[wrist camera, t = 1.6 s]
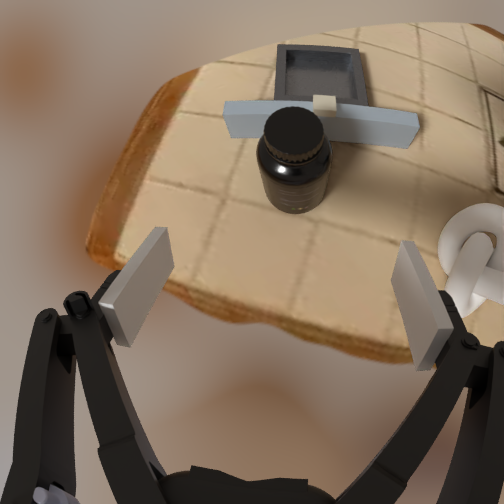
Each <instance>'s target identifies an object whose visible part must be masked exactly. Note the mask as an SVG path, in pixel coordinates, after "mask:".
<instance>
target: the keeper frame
mask: <svg viewBox="0 0 504 504" xmlns="http://www.w3.org/2000/svg"><path fill="white" fill-rule="evenodd" d="M313 95H327V96H335V97H336V103H339V104H350V105H360V106H368V100H367V93H366V87H365V81H364V75H363V69H362V64H361V59H360V54H359V49H353V48H343V47H331V46H316V45H286V44H278V45H277V62H276V77H275V93H274V100H275V101H309V102H313Z"/></svg>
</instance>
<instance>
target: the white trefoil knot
mask: <svg viewBox="0 0 504 504" xmlns="http://www.w3.org/2000/svg"><path fill="white" fill-rule="evenodd" d="M479 232H491V233H493V234H494V235H495V236H496V238H497V244H496V247H495V249H494V248H493V244H492V242H491V239H490V237H489V236H487V235H486V234H485V233H479ZM468 237H470V238H469V239H468V240H467V241H466V242H465V240H466V239H467V238H468ZM464 242H465V244H464V245H463V243H464ZM462 246H463V247H462ZM438 257H439V261H440V264H441V267H442V269H443V270H444V272H445V273H446V274H447V275H448V276H449V277H448V279H447V282H446V285H445V288H444V291H446V292H447V293H448V294H449V295H450V296H451V297H452V299H453V301H454V303H455V306H456V307H457V309H458V312H459V314H460V316H461V318H463V317H466V316H468V315H469V314H471V313H472V312H473V311H474V310H476V309H477V308H478V307H479V306H480V305H481V304H482V303H483V302H484V301H485V300H486V299H490V300H492V301H495V302H497V303H500V304H503V305H504V207H501V206H499V205H496V204H491V203H480V204H475V205H472V206H469V207H467V208H465V209H463V210H461V211H459V212H458V213H457V214H455V215H454V216H453V217H452V218H451V219H450V220H449V221H448V222H447V223H446V225H445V227H444V228H443V230H442V232H441V235H440V237H439V241H438Z"/></svg>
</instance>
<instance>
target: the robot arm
mask: <svg viewBox="0 0 504 504" xmlns="http://www.w3.org/2000/svg"><path fill="white" fill-rule="evenodd" d="M173 268H174V261H173V256H172V251H171V246H170V240H169V234H168V229H167V227H155V228H154V229H153V230H152V232H151V233H150V234H149V235H148V237H147V238H146V239H145V240H144V242H143V243H142V244H141V246H140V247H139V248H138V249H137V251H136V252H135V253H134V255H133V256H132V257H131V258H130V260H129V261H128V262H127V264H126V265H125V266H124V268H123V269H122V270H116V271H114V272H113V273H111V274H110V275H109V276H108V277H107V279H106V280H105V281H104V283H103V284H102V285H101V286H100V288H99V289H98V291H97V292H96V293H95V295H94V296H93V297H92V299H91V300H90V298H89V295H88V293H87V292H85V291H77V292H73V293H71V294H70V295H68V296H67V297H66V299H65V300H64V303H63V305H64V307H65V309H66V311H67V313H68V315H62V316H59V315H58V313H57V311H56V310H55V309H53V308H48V309H45V310H43V311H41V312H40V313H39V314H38V315H37V317H36V319H35V322H34V326H33V330H32V334H31V338H30V342H29V346H28V351H27V355H26V360H25V365H24V370H23V375H22V380H21V386H20V393H19V399H18V407H17V414H16V423H15V433H14V446H13V463H12V466H11V469H10V472H9V475H8V478H7V481H6V484H5V487H4V491H3V494H2V498H1V501H0V504H80V503H79V501H78V500H77V499H76V498H75V494H76V472H75V454H74V391H75V373H76V360H77V362H78V367H79V371H80V376H81V381H82V385H83V389H84V393H85V397H86V401H87V404H88V408H89V411H90V415H91V419H92V422H93V425H94V429H95V432H96V435H97V438H98V441H99V444H100V447H99V448H98V455H99V458H100V461H101V464H102V467H103V470H104V472H105V475H106V477H107V480H108V482H109V485H110V487H111V490H112V492H113V495H114V497H115V499H116V501H117V504H394V503H395V502H396V501H397V499H398V498H399V497H400V495H401V494H402V493H403V491H404V490H405V488H406V486H407V482H408V480H409V479H410V477H411V476H412V474H413V473H414V471H415V470H416V469H417V467H418V466H419V464H420V463H421V461H422V460H423V458H424V457H425V455H426V454H427V452H428V451H429V449H430V447H431V446H432V444H433V443H434V441H435V439H436V438H437V436H438V434H439V433H440V431H441V429H442V428H443V426H444V424H445V422H446V421H447V419H448V417H449V415H450V413H451V411H452V410H453V408H454V406H455V404H456V402H457V400H458V398H459V396H460V394H461V392H462V390H463V388H464V387H468V394H467V399H466V404H465V409H464V414H463V419H462V423H461V427H460V432H459V435H458V439H457V443H456V447H455V450H454V454H453V457H452V460H451V464H450V467H449V470H448V473H447V476H446V479H445V482H444V485H443V487H442V490H441V493H440V495H439V498H438V501H437V503H436V504H498V502H499V498H500V494H501V490H502V486H503V482H504V341H500V342H497V343H496V344H495V346H494V347H493V348H491V347H487V346H483V345H480V342H479V340H478V339H477V337H475V336H474V335H473V334H471V333H468V332H467V330H466V328H465V325H464V323H463V321H462V318H461V316H460V314H459V312H458V309H457V307H456V306H455V303H454V301H453V299H452V297H451V296H450V295H449V294H448V293H447V292H446V291H444V290H437V288H436V285H435V283H434V281H433V279H432V277H431V275H430V273H429V271H428V269H427V266H426V264H425V262H424V260H423V258H422V256H421V254H420V253H419V251H418V249H417V247H416V245H415V243H414V241H404V240H401V244H400V248H399V252H398V256H397V260H396V263H395V267H394V271H393V274H392V278H391V282H392V285H393V289H394V292H395V295H396V298H397V302H398V305H399V308H400V312H401V315H402V319H403V322H404V326H405V330H406V333H407V337H408V341H409V345H410V349H411V353H412V357H413V361H414V365H415V370H416V371H423V370H431V368H432V366H433V365H434V363H436V367H437V370H436V372H435V373H434V375H433V376H432V378H431V380H430V381H429V383H428V385H427V386H426V388H425V390H424V391H423V393H422V394H421V396H420V397H419V399H418V400H417V402H416V403H415V405H414V406H413V408H412V409H411V411H410V412H409V414H408V415H407V416H406V418H405V419H404V421H403V422H402V423H401V425H400V426H399V427H398V429H397V430H396V431H395V433H394V434H393V435H392V437H391V438H390V439H389V440H388V442H387V443H386V444H385V445H384V447H383V448H382V449H381V450H380V452H379V453H378V454H377V455H376V457H375V458H374V459H373V460H372V461H371V462H370V464H369V465H368V466H367V467H366V468H365V469H364V470H363V472H362V473H361V474H360V475H359V476H358V477H357V478H356V479H355V481H354V482H352V484H351V485H350V486H349V487H348V488H347V489H346V490H345V491H344V492H343V493H342V494H341V495H340V496H339V497H338V498H337V499H336V500H335V499H334V498H333V497H332V496H331V495H329V494H328V493H326V492H325V491H323V490H321V489H319V488H317V487H314V486H311V485H308V479H290V478H274V479H267V480H259V481H245V480H242V479H239V478H237V477H234V476H232V475H229V474H226V473H224V472H221V471H219V470H213V469H207V468H203V467H197V466H191V469H190V471H181V472H176V473H173V474H170V475H167V474H166V472H165V471H164V469H163V467H162V466H161V464H160V463H159V461H158V459H157V457H156V455H155V453H154V451H153V449H152V447H151V445H150V443H149V441H148V438H147V436H146V434H145V432H144V430H143V428H142V425H141V423H140V420H139V418H138V416H137V413H136V411H135V409H134V406H133V404H132V401H131V399H130V396H129V394H128V391H127V388H126V386H125V383H124V380H123V378H122V375H121V372H120V369H119V367H118V364H117V361H116V358H115V355H114V352H113V349H112V346H111V344H110V341H111V340H112V338H113V337H114V339H115V341H116V343H117V345H120V346H125V347H131V345H132V343H133V341H134V340H135V338H136V336H137V334H138V332H139V330H140V328H141V326H142V324H143V323H144V321H145V319H146V317H147V315H148V313H149V311H150V310H151V308H152V306H153V304H154V302H155V300H156V299H157V297H158V295H159V293H160V291H161V290H162V288H163V286H164V284H165V282H166V281H167V279H168V277H169V275H170V274H171V272H172V270H173Z"/></svg>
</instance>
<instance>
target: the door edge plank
mask: <svg viewBox="0 0 504 504" xmlns="http://www.w3.org/2000/svg"><path fill="white" fill-rule="evenodd" d="M291 106H294V107H297V106H298V107H303V108H305V109H309V110H310V111H311V112H314V114H315V115H317V116H318V118H319V119H320V120H321V123H322V124H323V128H324V133H325V135H326V136H327V138H328V139H329V141H339V142H351V143H362V144H371V145H380V146H389V147H397V148H404V149H407V148H408V147H409V145H410V143H411V142H412V140H413V138H414V137H415V135H416V133H417V131H418V130H419V128H420V126H419V121H418V116H417V113H411V112H405V111H399V110H392V109H385V108H377V107H369V106H360V105H350V104H339V103H336V97H335V96H327V95H313V102H309V101H275V100H255V101H225V104H224V110H223V117H224V120H225V123H226V125H227V128H228V131H229V134H230V137H231V138H261V136H262V135H263V130H264V125H265V124H266V120H267V119H268V117H269V116H271V114H272V113H274V112H275V111H276V110H279V109H281V108H285V107H291Z"/></svg>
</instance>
